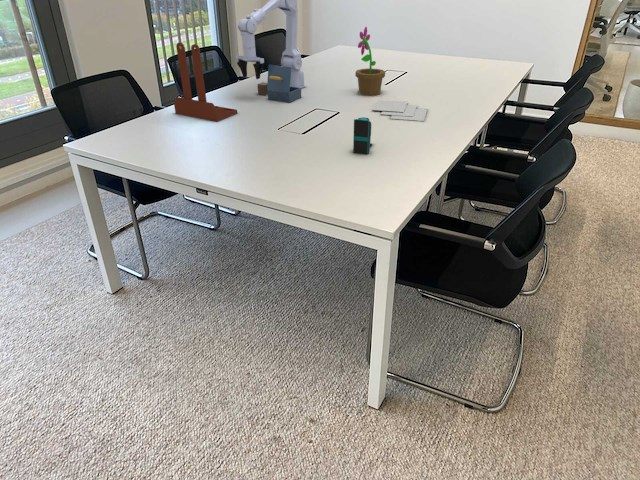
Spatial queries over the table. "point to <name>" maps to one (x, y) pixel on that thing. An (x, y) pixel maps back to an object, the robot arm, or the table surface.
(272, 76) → the lid
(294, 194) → the table surface
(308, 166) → the table surface
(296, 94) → the tin box
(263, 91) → the walnut block
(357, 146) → the black teal block
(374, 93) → the flowerpot
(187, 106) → the hanging shelf
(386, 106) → the paper stack
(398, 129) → the table surface
